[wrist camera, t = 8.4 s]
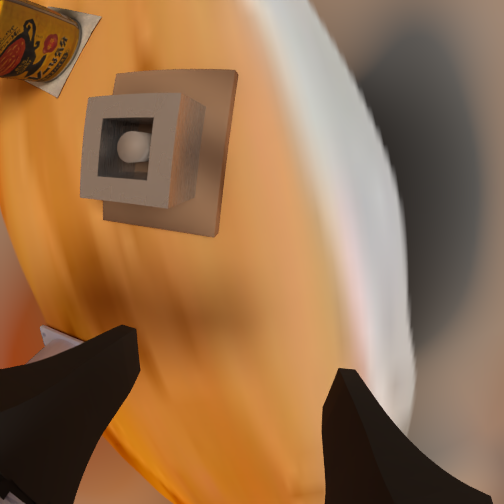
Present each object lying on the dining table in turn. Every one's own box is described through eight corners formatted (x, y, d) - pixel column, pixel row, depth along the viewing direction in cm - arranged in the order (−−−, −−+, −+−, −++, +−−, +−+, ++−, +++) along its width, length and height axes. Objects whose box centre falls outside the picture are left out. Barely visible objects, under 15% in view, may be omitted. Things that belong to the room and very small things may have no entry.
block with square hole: (194, 197, 17) (168, 208, 13) (117, 188, 18) (80, 197, 14) (206, 106, 15) (181, 93, 12) (126, 105, 16) (88, 97, 12)
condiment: (59, 98, 17) (-67, 91, 6) (14, 75, 17) (-84, 69, 5) (103, 17, 15) (-8, -35, 3) (50, 7, 14) (-41, -23, 3)
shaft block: (218, 233, 19) (196, 255, 14) (110, 217, 19) (71, 232, 15) (238, 74, 15) (221, 49, 11) (123, 76, 16) (84, 62, 12)
